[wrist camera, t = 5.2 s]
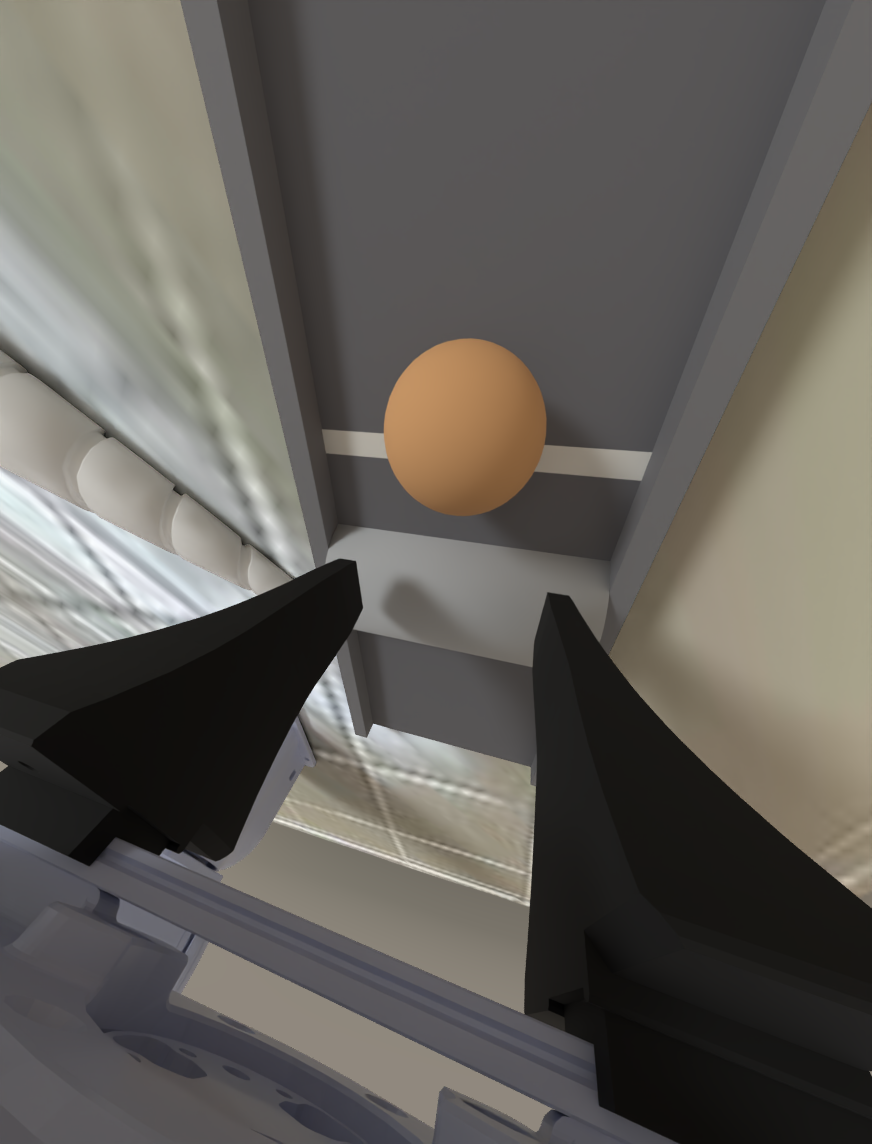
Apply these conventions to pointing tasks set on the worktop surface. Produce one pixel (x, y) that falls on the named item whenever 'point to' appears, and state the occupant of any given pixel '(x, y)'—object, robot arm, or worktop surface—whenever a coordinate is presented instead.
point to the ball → (465, 427)
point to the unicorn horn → (115, 481)
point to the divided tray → (515, 284)
